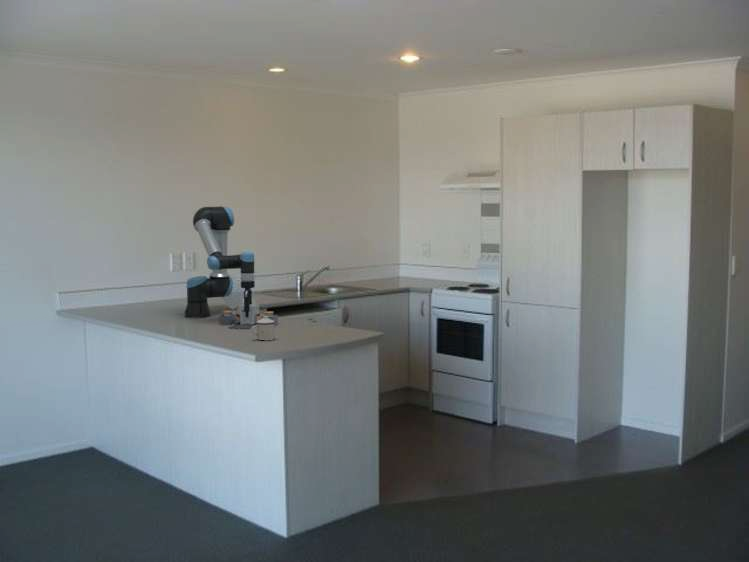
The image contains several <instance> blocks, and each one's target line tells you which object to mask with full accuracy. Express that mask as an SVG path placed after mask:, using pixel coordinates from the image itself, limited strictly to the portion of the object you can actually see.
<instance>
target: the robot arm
mask: <svg viewBox="0 0 749 562" xmlns="http://www.w3.org/2000/svg"><path fill="white" fill-rule="evenodd" d="M233 212H234V211H232V209H231V208H230V207H229V206H222V205H221V206H203V207H201V208H199V209H197V210H196V212H195V213H194V215H193V219H192V225H193V227H194V228H193V229H194V230H195V231H196V232H197V233H198V235H199V237H200V239H201V240H200V241H201V242H202V244H203V247H204V248H205V251H206V254H207V255H208V257H207V260H206V263H207V268H208V269H209V270H211V273H209V277H207V276H206V275H201V276H199V275H198V276H193V277H190V278H188V279H187V280H186V299H187V303H186V308H185V310H184V318H187V317H203V318H208V317H207V316H209V317H211V316H212V315H211V314H212V313H211V310H210V307H209V304H208V299H210V298H212V299H213V298H222V297H225V296H229V295H230V294H232V289H234V288H233V287H234V284H233V282H234V281H233V282H232V280H233V279H232V278H233V277H232V278H231V276H230V277H229V274H228V270H234V269H238V270H239V269H240V275H241V285H240V286H241V287H240V289H244V288H245V291H244V290H243V292H244V295H243V296H244V310H243V312H245V323H250V310H249V307H250V304H252V298H253V297H252V296H253V295H252V294H253V290H252V289H254V288H255V285H256V284H255V277H256V274H255V253H253V252H249V251H247V252H246V251H245V252H244V251H243V252H240V254H234V255H233V254H231V255H229V254H228V235H229V234H228V233H229V232H230V231H231V227H233V226H234V224H235V218H234V217H235V216H234V213H233ZM225 298H226V297H225ZM210 315H211V316H210Z"/></svg>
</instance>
